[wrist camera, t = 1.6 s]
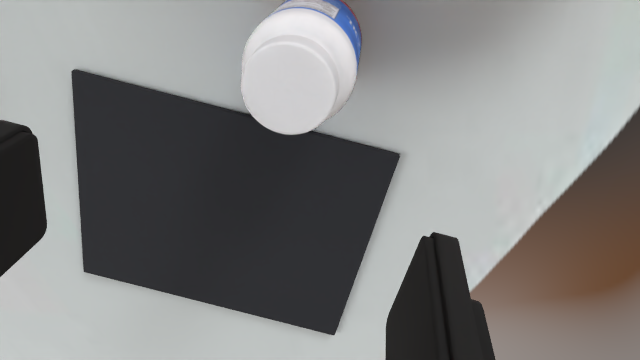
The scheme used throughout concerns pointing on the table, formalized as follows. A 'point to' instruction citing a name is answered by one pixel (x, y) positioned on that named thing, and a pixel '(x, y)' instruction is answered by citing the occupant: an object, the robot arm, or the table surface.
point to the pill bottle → (301, 64)
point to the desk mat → (222, 203)
